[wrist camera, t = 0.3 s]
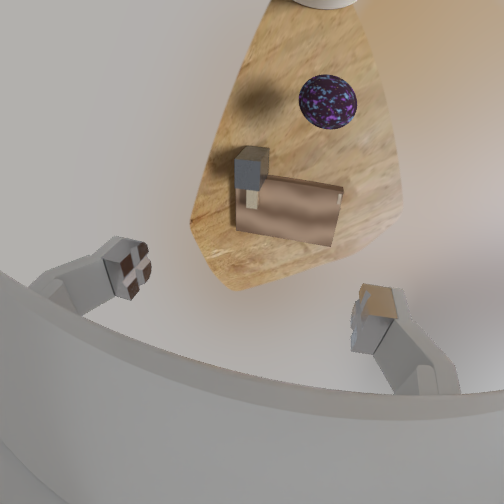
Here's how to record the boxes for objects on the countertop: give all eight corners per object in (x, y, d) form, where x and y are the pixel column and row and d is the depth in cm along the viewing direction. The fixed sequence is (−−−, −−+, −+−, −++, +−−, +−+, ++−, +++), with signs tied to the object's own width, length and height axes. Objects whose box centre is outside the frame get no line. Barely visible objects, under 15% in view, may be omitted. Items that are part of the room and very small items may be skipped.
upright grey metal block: (246, 145, 44) (234, 158, 39) (269, 148, 44) (260, 161, 38) (245, 198, 51) (234, 217, 46) (266, 201, 50) (258, 220, 45)
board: (238, 171, 48) (235, 175, 47) (343, 187, 45) (343, 192, 43) (238, 225, 56) (235, 230, 54) (330, 240, 53) (330, 247, 51)
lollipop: (305, 112, 39) (297, 133, 27) (304, 73, 34) (294, 73, 23) (348, 115, 37) (359, 137, 26) (348, 75, 33) (360, 77, 21)
